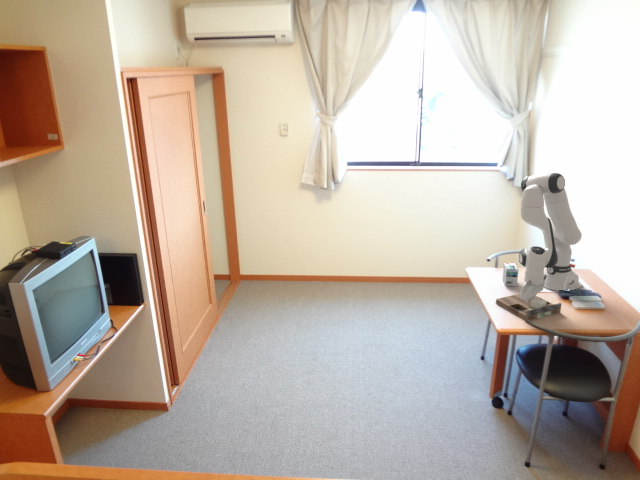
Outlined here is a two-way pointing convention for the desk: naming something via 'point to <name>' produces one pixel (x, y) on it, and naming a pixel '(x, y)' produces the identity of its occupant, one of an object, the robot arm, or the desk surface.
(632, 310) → the desk surface
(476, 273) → the desk surface
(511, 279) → the light bulb box
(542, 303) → the block
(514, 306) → the board
